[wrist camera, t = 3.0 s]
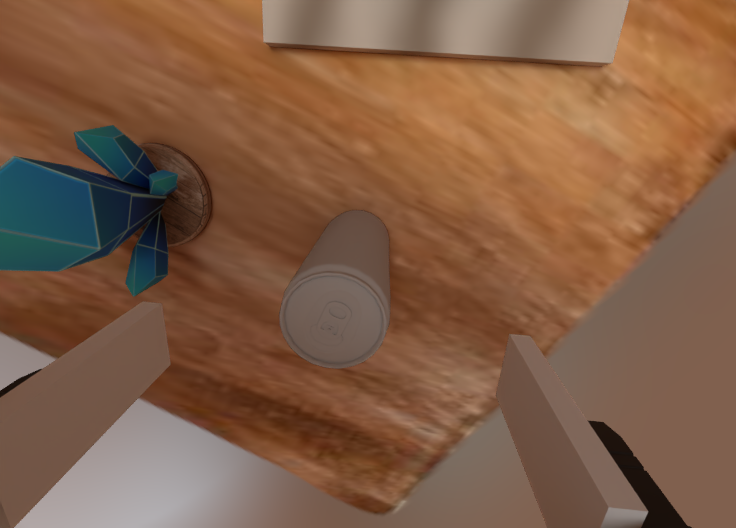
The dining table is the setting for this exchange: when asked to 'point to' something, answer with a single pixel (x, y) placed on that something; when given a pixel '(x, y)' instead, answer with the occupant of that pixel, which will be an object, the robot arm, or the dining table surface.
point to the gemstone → (101, 207)
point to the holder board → (452, 28)
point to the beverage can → (340, 294)
